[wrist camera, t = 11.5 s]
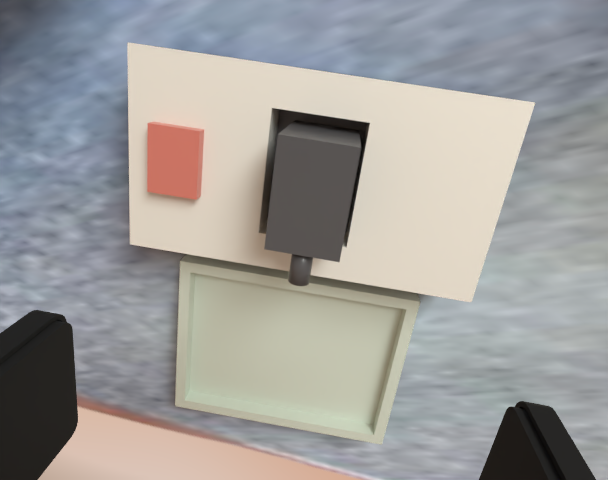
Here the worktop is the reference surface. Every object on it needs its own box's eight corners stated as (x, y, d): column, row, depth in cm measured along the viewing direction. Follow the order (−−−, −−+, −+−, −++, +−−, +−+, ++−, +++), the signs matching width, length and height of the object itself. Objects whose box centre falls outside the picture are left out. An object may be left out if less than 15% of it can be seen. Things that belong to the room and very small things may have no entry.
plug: (358, 129, 27) (361, 147, 20) (337, 247, 30) (333, 295, 23) (295, 119, 27) (277, 134, 21) (279, 237, 30) (260, 282, 24)
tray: (416, 290, 33) (420, 302, 31) (380, 428, 38) (381, 444, 36) (188, 251, 33) (180, 261, 32) (182, 391, 38) (175, 406, 37)
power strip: (503, 98, 27) (541, 103, 22) (453, 268, 32) (474, 308, 26) (164, 47, 28) (120, 41, 23) (161, 220, 33) (123, 248, 27)
